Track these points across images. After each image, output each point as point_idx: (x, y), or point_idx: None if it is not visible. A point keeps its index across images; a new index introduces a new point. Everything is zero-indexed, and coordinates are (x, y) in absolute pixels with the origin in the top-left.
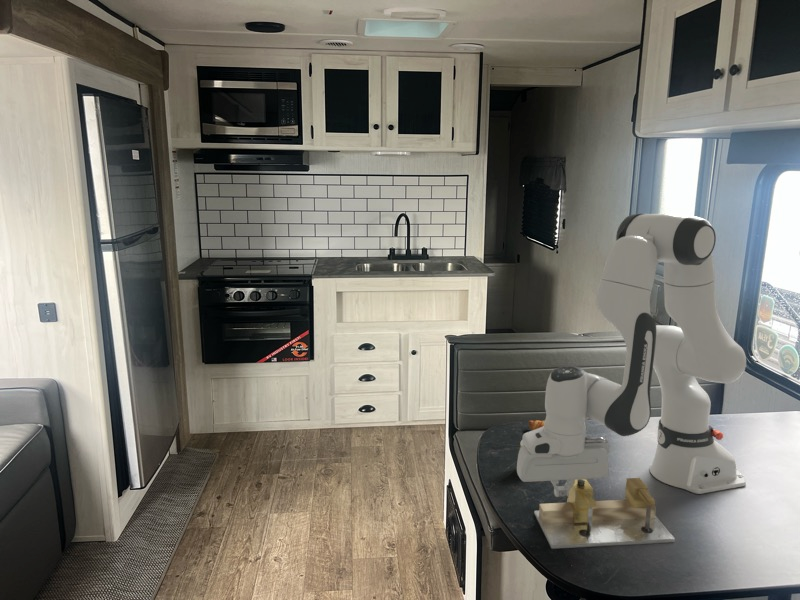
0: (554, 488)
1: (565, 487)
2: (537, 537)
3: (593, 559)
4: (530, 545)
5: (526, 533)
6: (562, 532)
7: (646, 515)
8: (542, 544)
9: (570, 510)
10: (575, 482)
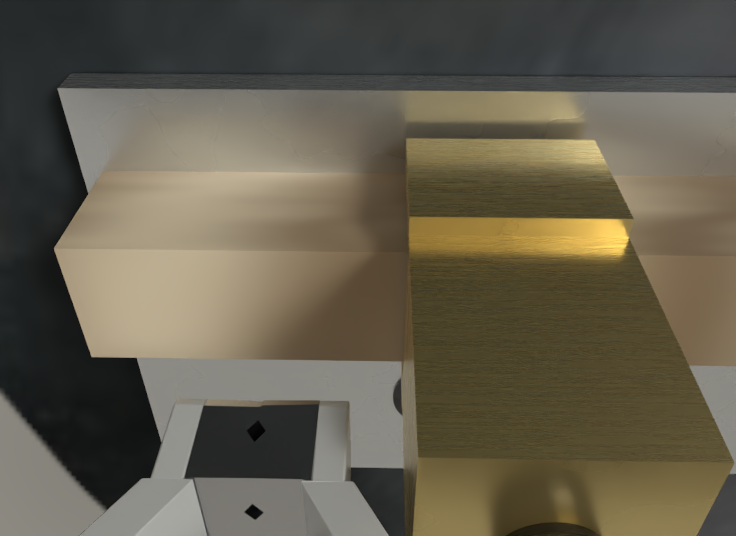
0: (160, 465)
1: (308, 520)
2: (89, 355)
3: (395, 516)
4: (39, 411)
5: (5, 314)
6: (270, 377)
7: None
8: (120, 410)
9: (371, 358)
10: (494, 510)
